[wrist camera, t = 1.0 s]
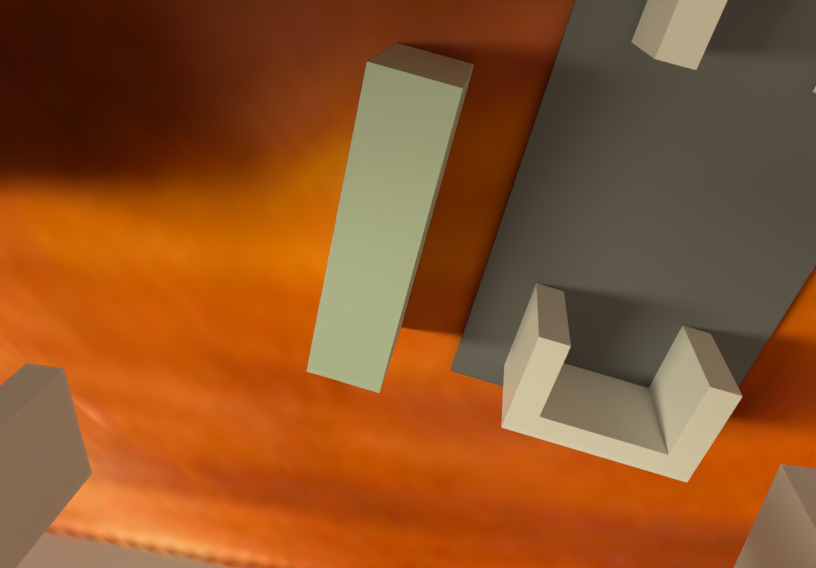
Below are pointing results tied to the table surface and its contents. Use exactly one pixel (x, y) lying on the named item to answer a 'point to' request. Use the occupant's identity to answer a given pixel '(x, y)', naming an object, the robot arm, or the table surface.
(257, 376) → the table surface
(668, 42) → the cap
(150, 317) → the table surface
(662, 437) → the cap
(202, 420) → the table surface
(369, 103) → the slat
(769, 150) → the mat
